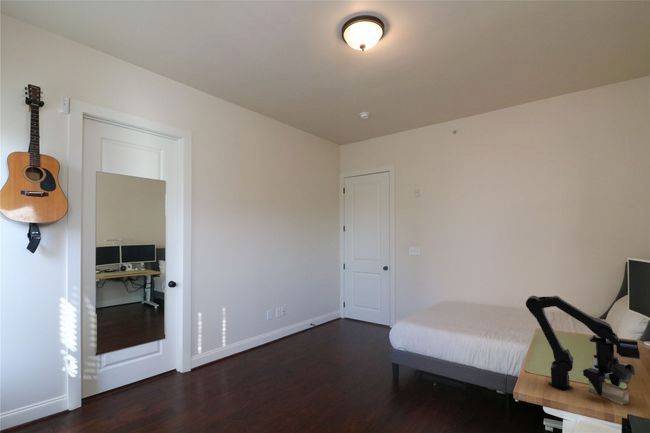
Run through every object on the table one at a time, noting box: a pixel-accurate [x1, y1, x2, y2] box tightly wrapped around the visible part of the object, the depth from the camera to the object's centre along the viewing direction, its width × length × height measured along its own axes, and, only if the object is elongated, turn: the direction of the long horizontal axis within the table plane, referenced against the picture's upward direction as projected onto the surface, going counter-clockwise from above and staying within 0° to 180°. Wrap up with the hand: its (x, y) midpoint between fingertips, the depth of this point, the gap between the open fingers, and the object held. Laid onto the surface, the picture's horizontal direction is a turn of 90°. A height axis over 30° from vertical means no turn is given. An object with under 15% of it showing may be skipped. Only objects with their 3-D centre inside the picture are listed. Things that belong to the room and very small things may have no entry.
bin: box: [592, 358, 629, 384], centre depth 155 cm, size 15×12×4 cm
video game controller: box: [614, 353, 623, 363], centre depth 168 cm, size 10×5×7 cm, turn 150°
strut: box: [587, 378, 630, 406], centre depth 135 cm, size 4×12×5 cm, turn 18°
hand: (607, 393), depth 135 cm, fingers open, 9 cm apart
